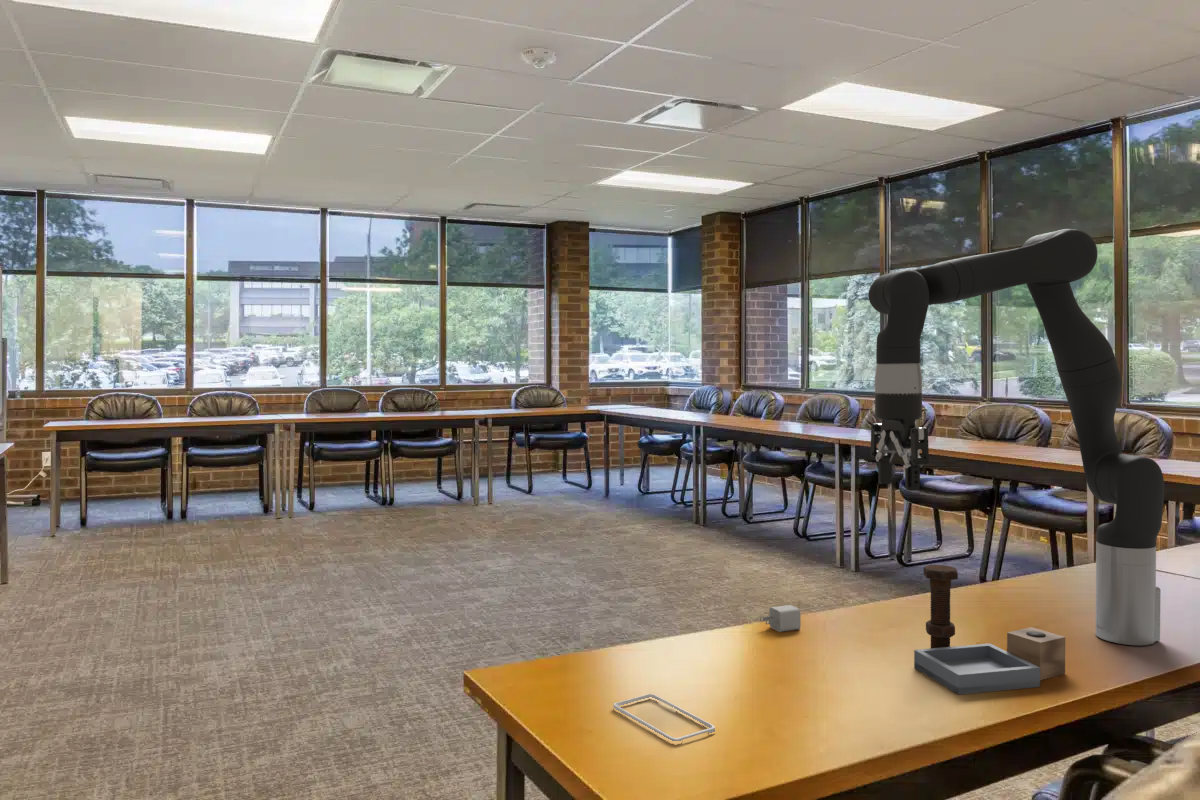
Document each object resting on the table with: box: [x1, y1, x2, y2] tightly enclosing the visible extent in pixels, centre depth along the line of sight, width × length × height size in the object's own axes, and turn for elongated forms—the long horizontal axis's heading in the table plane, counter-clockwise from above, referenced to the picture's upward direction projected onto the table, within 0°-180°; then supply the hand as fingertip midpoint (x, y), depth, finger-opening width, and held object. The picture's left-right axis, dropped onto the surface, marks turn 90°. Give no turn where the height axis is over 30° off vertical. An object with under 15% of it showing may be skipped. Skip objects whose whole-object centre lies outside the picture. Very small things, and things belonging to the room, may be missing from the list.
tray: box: [913, 642, 1041, 696], centre depth 137 cm, size 14×12×3 cm
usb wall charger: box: [759, 604, 802, 633], centre depth 164 cm, size 4×7×4 cm, turn 110°
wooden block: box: [1006, 626, 1066, 681], centre depth 139 cm, size 6×6×6 cm
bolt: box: [923, 564, 959, 648], centre depth 148 cm, size 6×5×15 cm
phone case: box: [613, 693, 716, 741], centre depth 122 cm, size 7×1×15 cm
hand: (898, 486), depth 146 cm, fingers open, 8 cm apart
